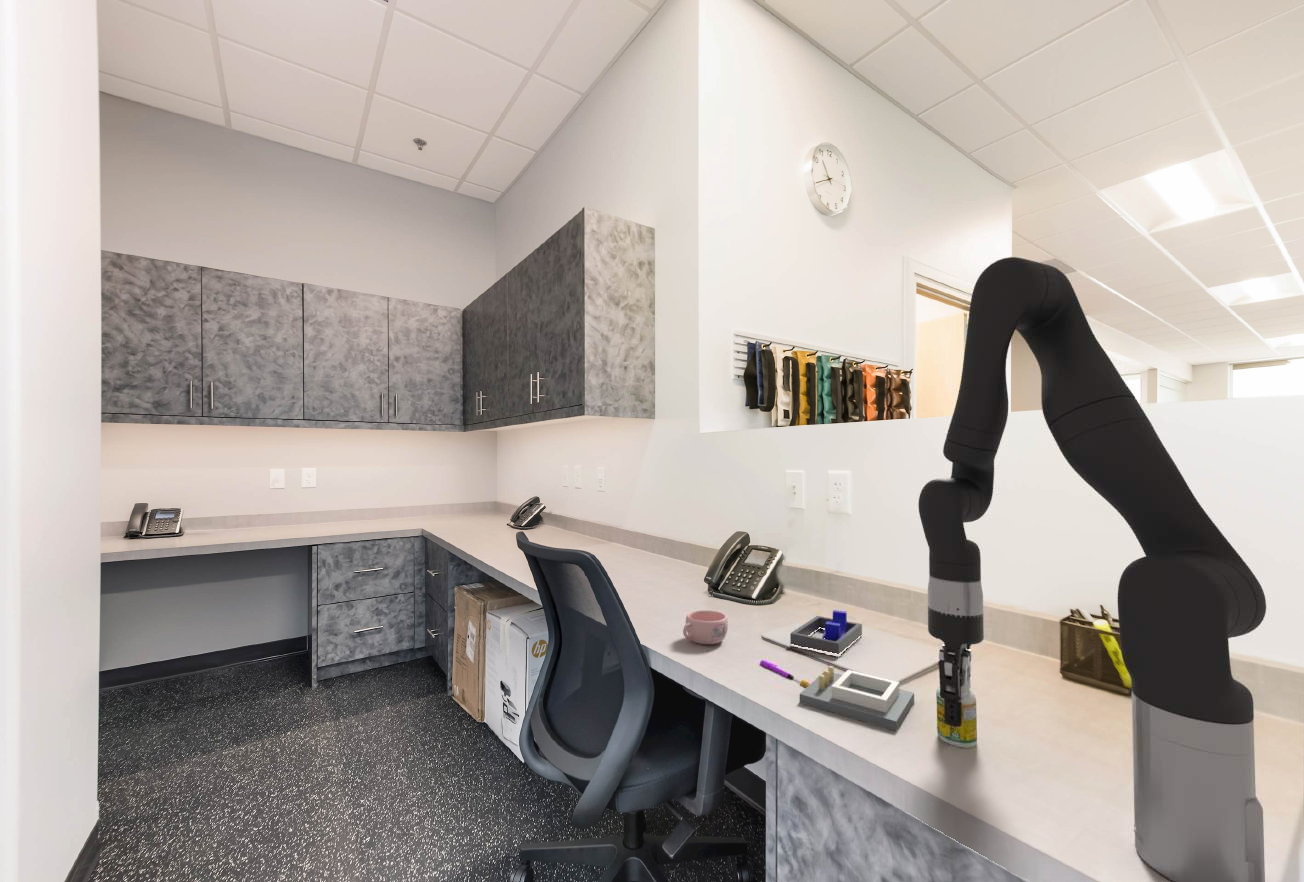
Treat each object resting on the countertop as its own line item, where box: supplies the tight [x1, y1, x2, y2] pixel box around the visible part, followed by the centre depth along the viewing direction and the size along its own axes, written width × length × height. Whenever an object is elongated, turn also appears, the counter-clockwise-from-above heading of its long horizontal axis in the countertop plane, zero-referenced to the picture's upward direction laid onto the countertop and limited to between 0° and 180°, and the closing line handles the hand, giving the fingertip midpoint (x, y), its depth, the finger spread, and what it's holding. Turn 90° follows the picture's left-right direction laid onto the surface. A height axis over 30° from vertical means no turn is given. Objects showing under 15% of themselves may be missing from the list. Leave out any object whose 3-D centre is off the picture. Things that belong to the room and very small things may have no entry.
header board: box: [799, 665, 915, 731], centre depth 95 cm, size 16×13×4 cm
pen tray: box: [789, 615, 863, 654], centre depth 126 cm, size 11×17×3 cm, turn 143°
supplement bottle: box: [935, 676, 978, 749], centre depth 83 cm, size 5×5×10 cm
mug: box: [682, 609, 729, 645], centre depth 126 cm, size 12×10×6 cm
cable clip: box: [822, 609, 848, 641], centre depth 126 cm, size 12×4×6 cm, turn 153°
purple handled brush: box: [759, 659, 811, 688], centre depth 106 cm, size 3×1×16 cm
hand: (956, 716), depth 83 cm, fingers closed on supplement bottle, 5 cm apart
